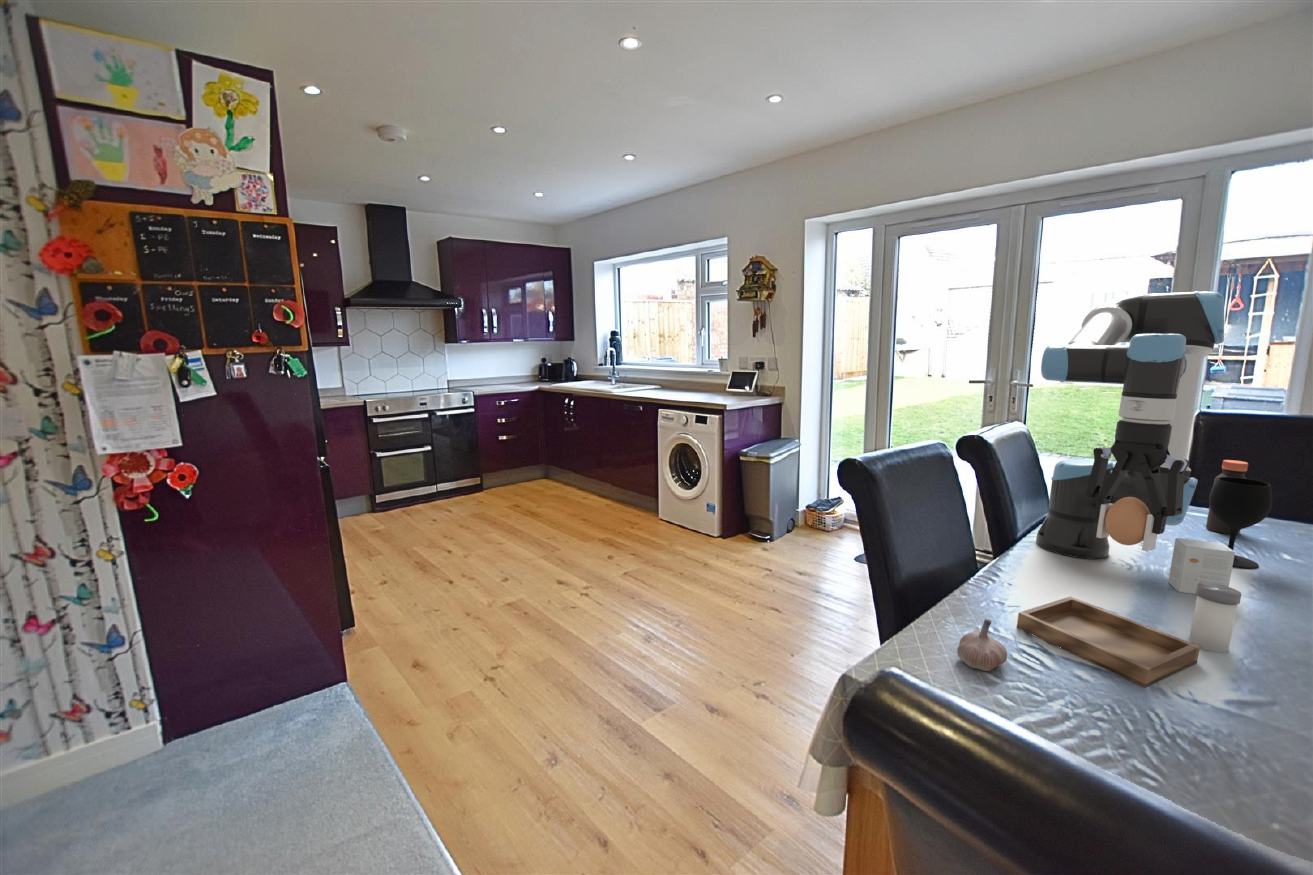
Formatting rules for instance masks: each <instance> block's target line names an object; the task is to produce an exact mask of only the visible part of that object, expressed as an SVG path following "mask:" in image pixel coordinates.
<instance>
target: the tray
mask: <svg viewBox="0 0 1313 875" xmlns="http://www.w3.org/2000/svg"><path fill="white" fill-rule="evenodd" d="M1016 621H1017V622H1016V629H1019V630H1021V629H1022V630H1021V631H1023V630H1024V631H1023V632H1025V631H1026V633H1027V634H1030V633H1031V634H1030V635H1032V634H1033V635H1032V636H1034V635H1035V636H1034V637H1036V638H1039V639H1041V640H1042V639H1043V641H1045V642H1047V643H1049V644H1051V645H1053V646H1056V647H1057V646H1058V647H1057V648H1060V647H1061V648H1060V649H1062V650H1065V651H1067V652H1068V651H1069V652H1068V653H1070V654H1072V655H1075V656H1076V657H1079V658H1081V659H1083V660H1086V661H1088V662H1090V663H1091V664H1094V665H1096V666H1098V667H1099V668H1102V669H1105V670H1106V671H1109V672H1111V673H1113V674H1115V675H1117V676H1120V677H1121V678H1124V679H1126V680H1128V681H1131V682H1132V683H1134V684H1137V685H1139V686H1140V687H1143V688H1147V687H1149V686H1151V685H1153V684H1156V683H1157V682H1159V681H1163V680H1164V679H1166V678H1168V677H1170V676H1172V675H1175V674H1176V673H1179V672H1181V671H1183V670H1186V669H1187V668H1190V667H1191V666H1194V665H1196V664H1198V660H1199V654H1200V650H1201V648H1200V646H1198V645H1195V644H1192V643H1191V642H1190V641H1187V640H1184V639H1182V638H1179V637H1176V636H1174V635H1171V634H1169V633H1167V632H1164V631H1161V630H1159V629H1156V628H1154V627H1150V626H1149V625H1145V624H1143V623H1140V622H1138V621H1135V620H1132V619H1130V618H1128V617H1124V616H1122V615H1120V614H1117V613H1114V612H1112V611H1110V610H1106V609H1104V608H1101V607H1098V606H1096V605H1094V604H1091V603H1088V602H1086V601H1083V600H1081V599H1078V598H1076V597H1073V596H1067V597H1064V598H1060V599H1057V600H1054V601H1050V602H1048V603H1045V604H1041V605H1039V606H1035V607H1032V608H1028V609H1024V610H1023V611H1020V612H1018V616H1017V620H1016Z"/></svg>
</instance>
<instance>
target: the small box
mask: <svg viewBox="0 0 1313 875" xmlns="http://www.w3.org/2000/svg"><path fill="white" fill-rule="evenodd" d="M1235 555H1236V552H1235V551H1234V549H1233V550H1231V549H1230V548H1229V547H1228V545H1226V544H1224V543H1223V542H1216V541H1207V540H1197V539H1191V538H1190V539H1189V538H1180V537H1175V539H1174V544H1173V552H1172V555H1171V556H1172V558H1171V563H1170V570H1169V573H1168V574H1169V575H1168V583H1169V584H1170V585H1171V586H1172V587H1173V588H1174V589H1175V590H1176V591H1177V592H1179V593H1184V594H1191V595H1197V594H1196V591H1197V586H1198V583H1201V582H1208V583H1215V584H1220V585H1224V586H1228V587H1230V580H1231V577H1232V572H1233V570H1232V569H1233V567H1232V566H1233V561H1234V556H1235Z"/></svg>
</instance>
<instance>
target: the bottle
mask: <svg viewBox="0 0 1313 875" xmlns="http://www.w3.org/2000/svg"><path fill="white" fill-rule="evenodd" d="M1248 467H1249V463H1248V462H1247V461H1241V460H1235V459H1234V460H1232V459H1223V460H1222V465H1221V468H1222V469H1221V470H1222V473H1220V474H1219V475H1216V476H1215V478H1214V481H1213V485H1214V484H1215V482H1216V480H1217V479H1218V478H1219V477H1235V478H1244V479H1248V478H1247V477H1246V476H1245V474H1247V472H1248ZM1208 508H1209V509H1208V512H1207V513H1208V514H1207V518H1206V525H1205V527H1206V529H1207V530H1208V531H1211V532H1213V533H1214V532H1215V533H1217V534H1218V533H1219V534H1223V535H1230V530H1229V528H1228V527H1227V526H1226V525H1224V524H1223V523H1222V522H1221V521H1220V520H1218V519H1217V518H1216V516H1215V515H1214V514H1213V512H1212V511H1211V509H1210V506H1209V507H1208ZM1240 533H1241V530H1239V531H1238V533H1237V535H1239V534H1240Z"/></svg>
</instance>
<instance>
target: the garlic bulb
mask: <svg viewBox="0 0 1313 875" xmlns="http://www.w3.org/2000/svg"><path fill="white" fill-rule="evenodd" d="M991 625H992V620H990V619H987V618H984V621H983V623H982V627H981V630H980V631H979V630H978V631H977V630H975V631H971V632H969V633H966V634H964V635H963V636H961V638H960V640H959V645H958V647H957V648H956V649H957V651H956V652H957V655H958V657H959V659H960V660H961V661H963V662H964V664H965V665H967V666H969V667H970V668H972V669H975V670H981V671H984V672H988V671H989V672H990V671H991V670H993V669H994V668H998V667H999V666H1001V665H1003V664H1004V663H1006V661H1007V659H1008V658H1007V657H1008V652H1007V649H1006V647H1005V646H1004V644H1002V643H1001V641H998V640H996V639H994V638H993V637H991V636H990V635H988V633H989V629H990V626H991Z"/></svg>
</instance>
